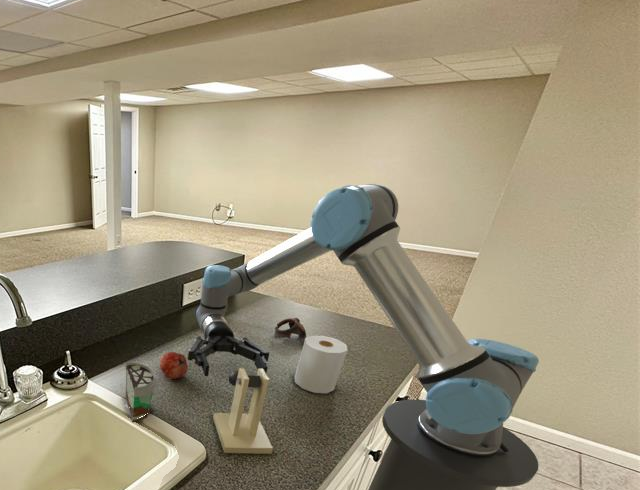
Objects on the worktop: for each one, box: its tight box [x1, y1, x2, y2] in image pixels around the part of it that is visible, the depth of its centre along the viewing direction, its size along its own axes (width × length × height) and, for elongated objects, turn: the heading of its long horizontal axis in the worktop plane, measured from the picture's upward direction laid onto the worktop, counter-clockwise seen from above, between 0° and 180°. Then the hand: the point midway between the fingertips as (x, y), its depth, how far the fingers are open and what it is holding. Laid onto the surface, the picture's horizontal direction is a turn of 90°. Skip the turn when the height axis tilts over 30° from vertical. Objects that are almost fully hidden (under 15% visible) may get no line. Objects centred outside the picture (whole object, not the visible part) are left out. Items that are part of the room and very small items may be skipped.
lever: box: [228, 370, 260, 389], centre depth 88 cm, size 14×4×4 cm, turn 1°
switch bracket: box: [212, 367, 274, 455], centre depth 85 cm, size 12×10×16 cm
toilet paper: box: [294, 335, 348, 394], centre depth 106 cm, size 10×10×12 cm
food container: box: [125, 361, 158, 423], centre depth 94 cm, size 12×6×10 cm, turn 9°
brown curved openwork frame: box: [273, 317, 307, 346], centre depth 132 cm, size 12×10×8 cm
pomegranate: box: [159, 351, 189, 380], centre depth 109 cm, size 7×7×10 cm
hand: (236, 371), depth 94 cm, fingers open, 13 cm apart
